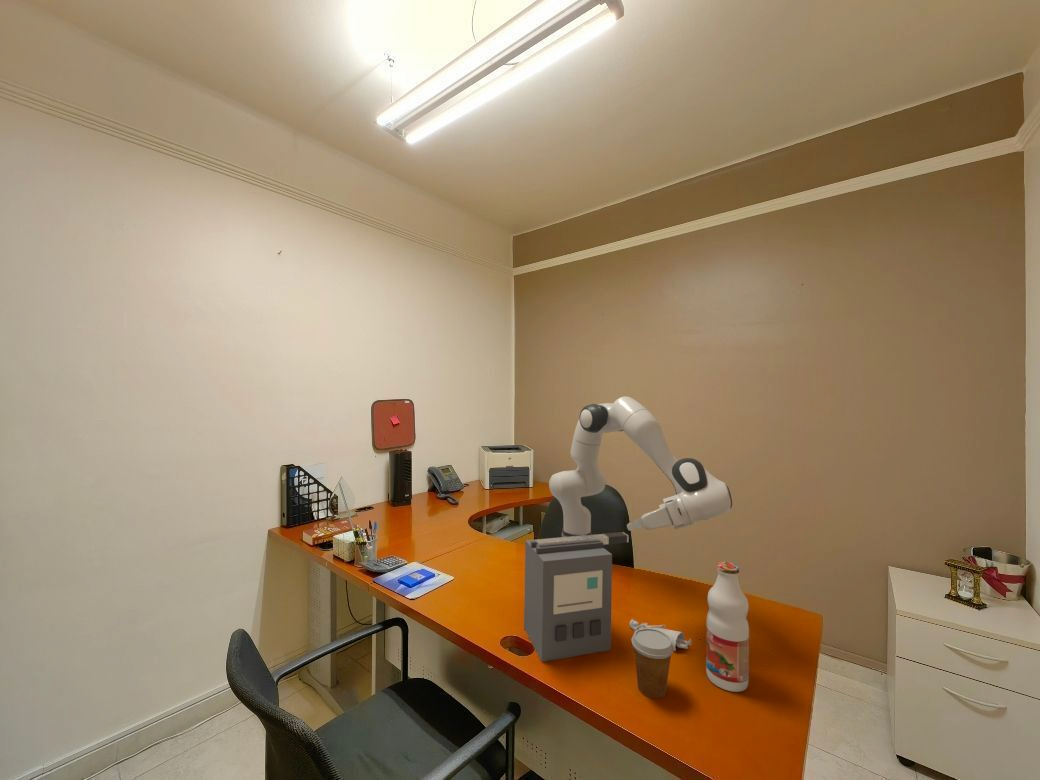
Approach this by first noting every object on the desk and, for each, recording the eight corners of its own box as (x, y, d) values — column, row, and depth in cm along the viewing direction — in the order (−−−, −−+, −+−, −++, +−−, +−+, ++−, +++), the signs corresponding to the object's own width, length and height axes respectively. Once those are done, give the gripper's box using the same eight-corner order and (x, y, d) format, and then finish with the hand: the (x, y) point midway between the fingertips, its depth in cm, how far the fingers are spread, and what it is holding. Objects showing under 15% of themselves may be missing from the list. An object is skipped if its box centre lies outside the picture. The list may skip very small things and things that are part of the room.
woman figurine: (679, 645, 107) (619, 622, 120) (680, 663, 107) (620, 638, 120) (697, 628, 116) (639, 608, 128) (698, 644, 115) (639, 623, 128)
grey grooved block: (523, 628, 122) (525, 535, 122) (585, 619, 127) (586, 530, 128) (543, 664, 106) (544, 557, 106) (612, 652, 111) (613, 550, 112)
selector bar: (535, 546, 116) (535, 539, 116) (623, 538, 124) (623, 531, 124) (538, 550, 113) (539, 543, 113) (628, 542, 121) (628, 535, 121)
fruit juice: (757, 693, 96) (758, 573, 97) (717, 693, 96) (718, 573, 97) (735, 667, 106) (736, 558, 106) (699, 666, 106) (700, 557, 106)
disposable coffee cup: (671, 679, 101) (671, 630, 101) (674, 708, 91) (675, 653, 92) (631, 672, 103) (631, 624, 103) (630, 698, 94) (631, 646, 94)
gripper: (668, 501, 129) (626, 514, 132) (671, 501, 110) (622, 517, 113) (676, 521, 127) (633, 534, 129) (681, 525, 108) (630, 540, 111)
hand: (628, 526), depth 121 cm, fingers open, 8 cm apart
